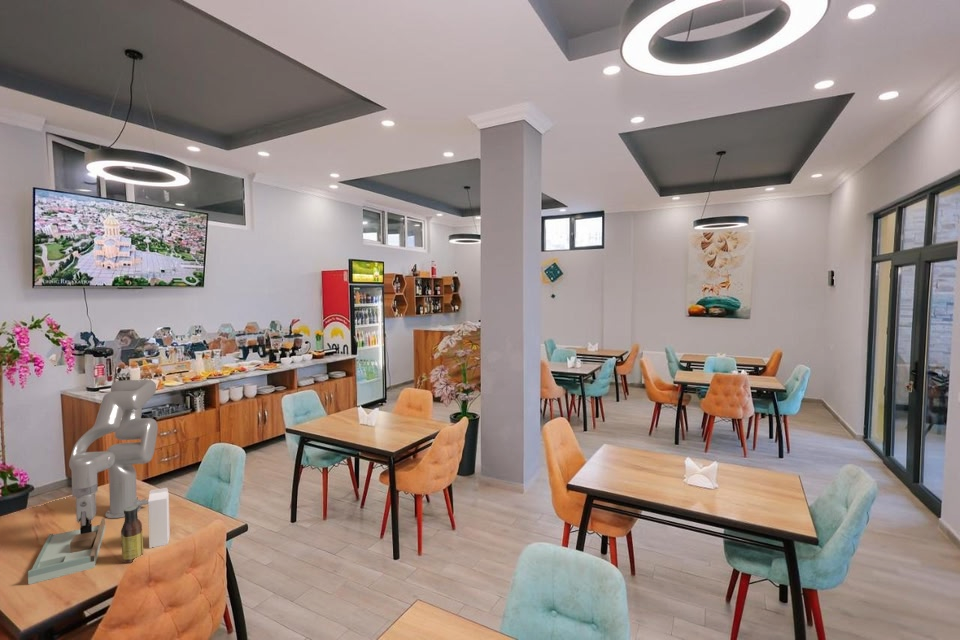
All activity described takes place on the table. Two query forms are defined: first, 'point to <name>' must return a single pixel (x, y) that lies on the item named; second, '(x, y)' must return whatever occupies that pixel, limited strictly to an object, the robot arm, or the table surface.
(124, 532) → the sauce bottle
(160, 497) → the milk
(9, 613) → the table surface
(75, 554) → the board
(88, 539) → the walnut block
